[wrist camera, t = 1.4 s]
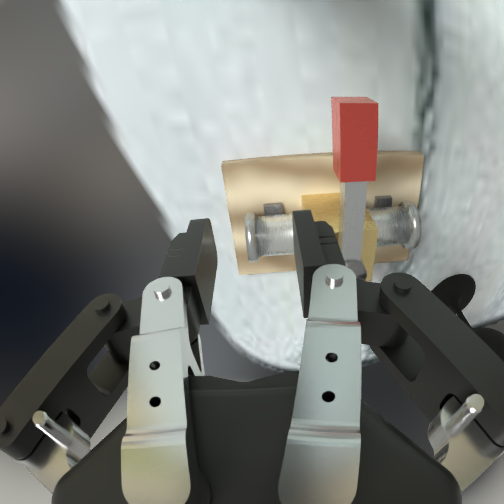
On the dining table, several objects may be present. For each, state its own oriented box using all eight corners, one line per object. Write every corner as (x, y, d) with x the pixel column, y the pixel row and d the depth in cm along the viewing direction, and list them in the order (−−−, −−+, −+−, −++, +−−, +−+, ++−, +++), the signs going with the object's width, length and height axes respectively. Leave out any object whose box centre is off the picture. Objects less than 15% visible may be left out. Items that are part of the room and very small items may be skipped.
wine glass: (422, 287, 46) (470, 394, 30) (476, 264, 43) (534, 360, 27) (425, 325, 52) (462, 420, 35) (473, 304, 49) (517, 392, 33)
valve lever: (359, 272, 31) (365, 290, 29) (328, 275, 32) (332, 293, 30) (368, 97, 21) (380, 103, 19) (328, 97, 22) (336, 103, 20)
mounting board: (222, 161, 35) (221, 166, 34) (418, 151, 33) (424, 155, 32) (239, 267, 44) (239, 274, 43) (404, 253, 42) (407, 259, 41)
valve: (244, 199, 36) (242, 240, 30) (405, 189, 35) (435, 225, 28) (251, 246, 40) (250, 291, 33) (399, 234, 39) (423, 274, 32)
